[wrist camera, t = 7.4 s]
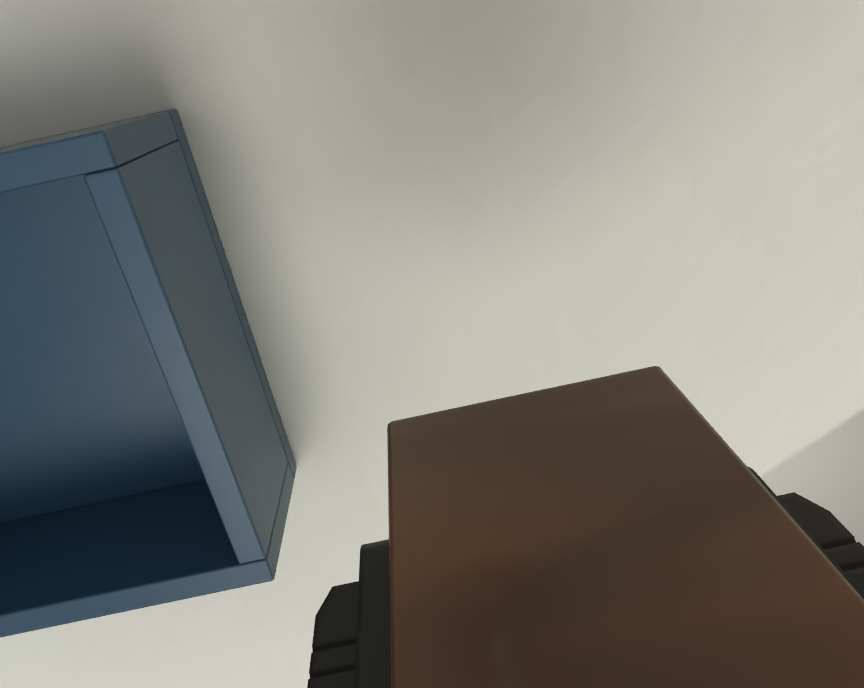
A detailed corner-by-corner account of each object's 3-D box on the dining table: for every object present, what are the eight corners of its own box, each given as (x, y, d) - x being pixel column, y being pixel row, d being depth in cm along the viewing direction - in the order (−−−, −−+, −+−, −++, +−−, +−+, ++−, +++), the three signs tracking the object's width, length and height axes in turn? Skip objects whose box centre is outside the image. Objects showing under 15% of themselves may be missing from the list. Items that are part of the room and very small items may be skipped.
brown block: (658, 363, 11) (1059, 814, 4) (675, 576, 13) (980, 1121, 6) (385, 420, 11) (392, 944, 5) (439, 624, 13) (498, 1214, 6)
